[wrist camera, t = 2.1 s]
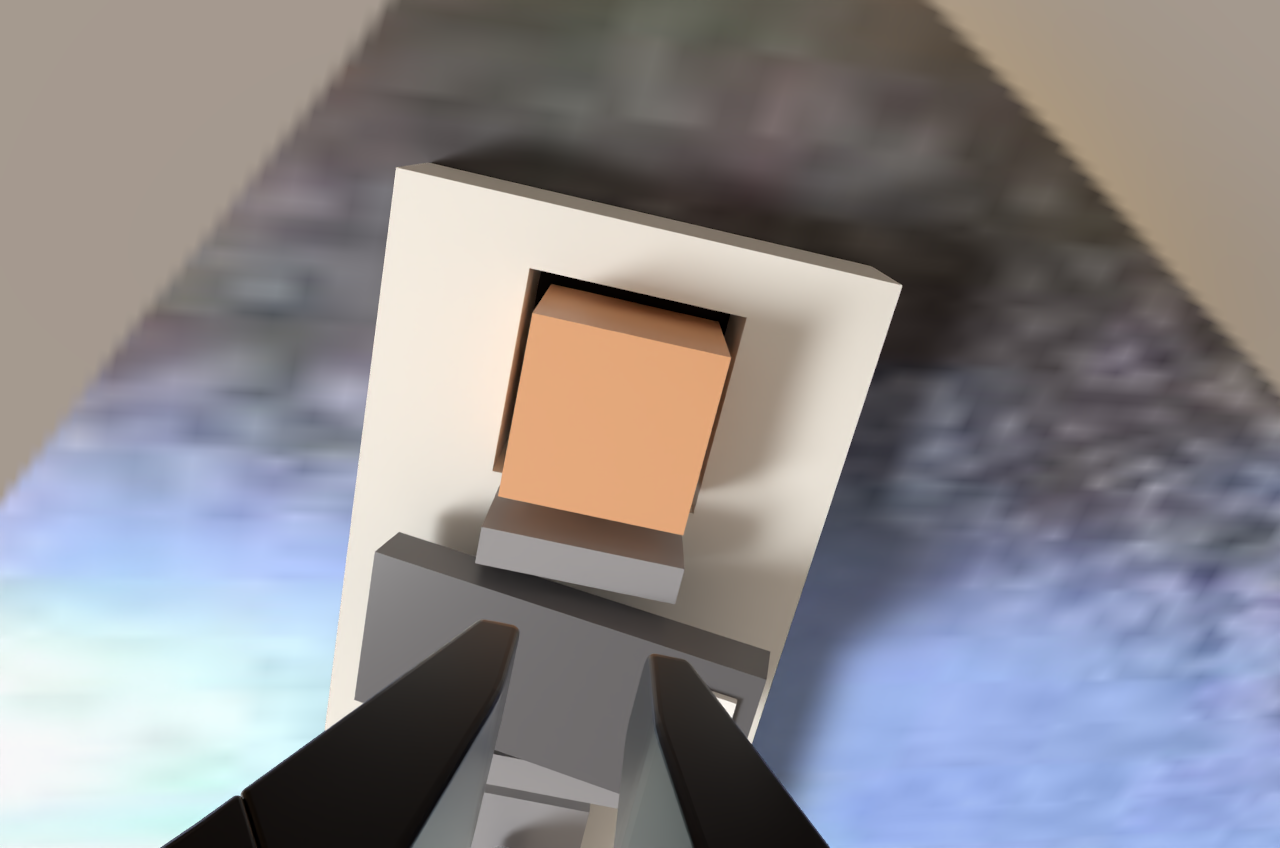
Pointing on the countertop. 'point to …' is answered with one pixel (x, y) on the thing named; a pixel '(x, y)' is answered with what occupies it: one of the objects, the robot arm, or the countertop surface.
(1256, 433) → the countertop surface
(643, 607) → the switch panel
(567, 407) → the push button
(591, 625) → the rocker switch
